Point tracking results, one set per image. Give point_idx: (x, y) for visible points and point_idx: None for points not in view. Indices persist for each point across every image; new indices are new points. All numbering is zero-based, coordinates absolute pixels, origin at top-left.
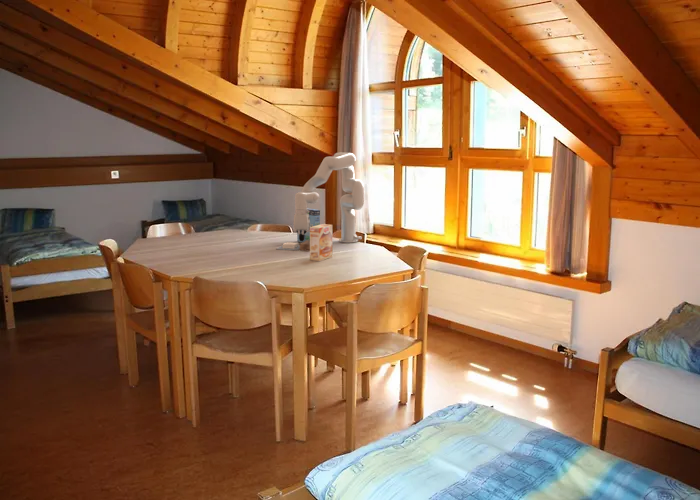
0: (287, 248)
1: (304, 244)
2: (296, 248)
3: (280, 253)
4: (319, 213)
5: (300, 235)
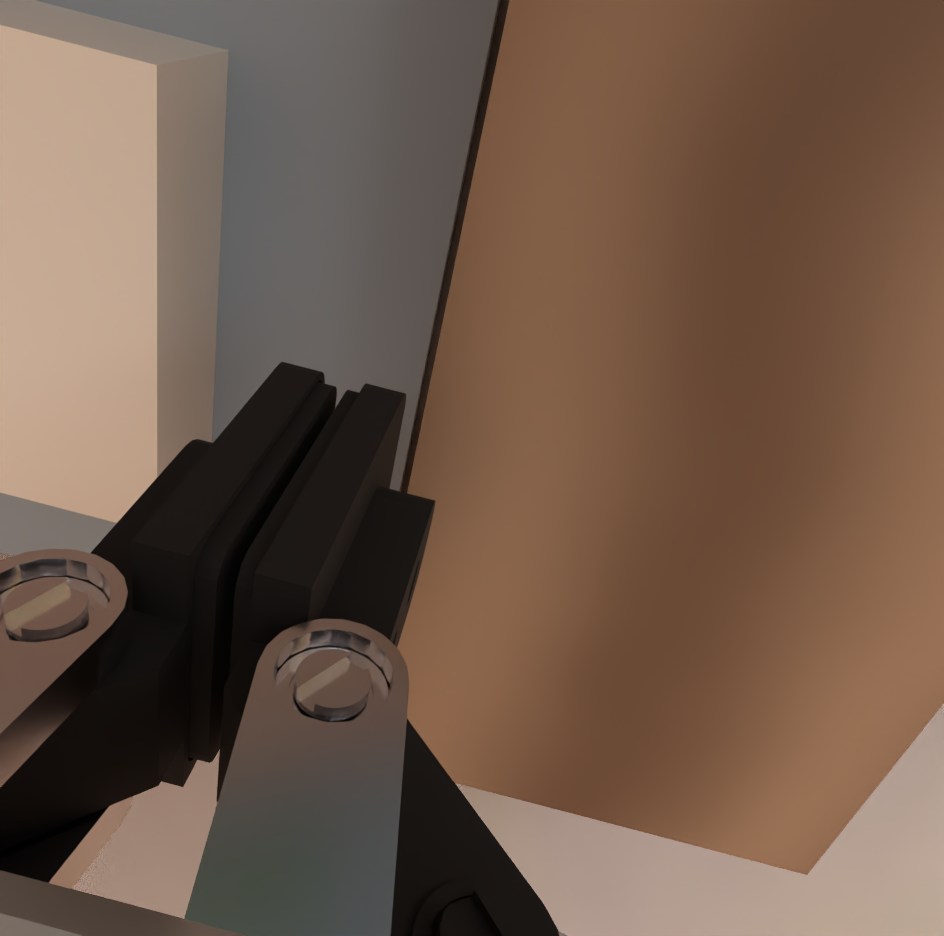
0: None
1: (514, 788)
2: None
3: None
4: None
5: (200, 753)
